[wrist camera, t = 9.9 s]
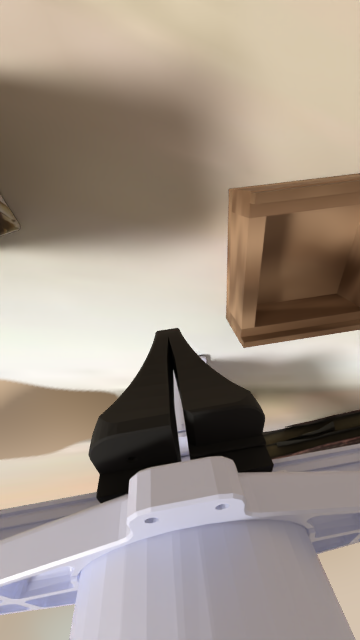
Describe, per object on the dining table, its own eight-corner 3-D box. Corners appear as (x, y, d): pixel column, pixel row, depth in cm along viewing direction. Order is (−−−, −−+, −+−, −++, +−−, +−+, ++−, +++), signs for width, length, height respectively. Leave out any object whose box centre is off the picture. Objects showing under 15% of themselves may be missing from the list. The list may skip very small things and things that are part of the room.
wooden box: (337, 301, 25) (378, 327, 21) (226, 318, 24) (243, 348, 20) (380, 170, 18) (455, 167, 14) (228, 189, 18) (256, 191, 13)
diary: (349, 451, 49) (368, 477, 44) (239, 476, 49) (248, 505, 44) (375, 400, 38) (403, 427, 34) (235, 432, 38) (246, 464, 34)
